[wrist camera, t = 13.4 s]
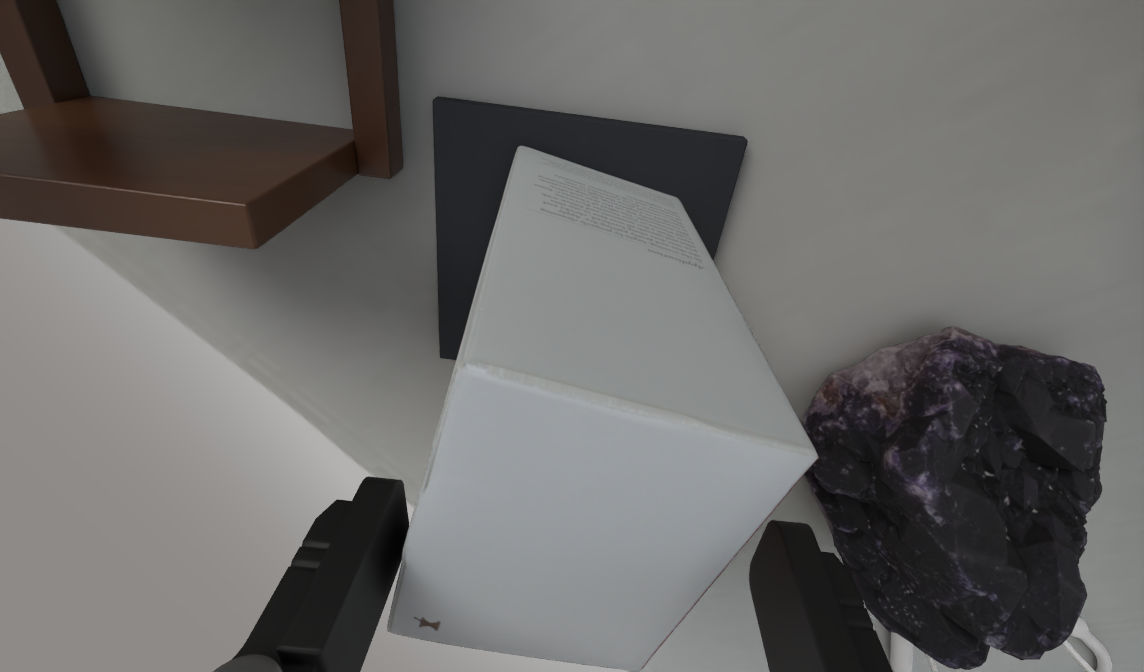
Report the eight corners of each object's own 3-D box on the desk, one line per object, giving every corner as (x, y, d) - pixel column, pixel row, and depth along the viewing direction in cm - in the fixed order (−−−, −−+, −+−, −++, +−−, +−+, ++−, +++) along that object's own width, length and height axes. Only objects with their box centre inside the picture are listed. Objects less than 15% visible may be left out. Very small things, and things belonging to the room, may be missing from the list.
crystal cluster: (969, 246, 21) (1153, 408, 13) (1150, 423, 24) (1391, 644, 16) (724, 420, 28) (745, 597, 20) (889, 541, 31) (965, 737, 23)
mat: (744, 136, 19) (748, 140, 18) (676, 378, 25) (677, 386, 24) (436, 95, 18) (431, 98, 18) (442, 351, 24) (439, 358, 24)
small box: (608, 361, 24) (640, 680, 13) (469, 324, 22) (376, 640, 12) (685, 193, 19) (833, 459, 9) (518, 137, 18) (444, 361, 7)
